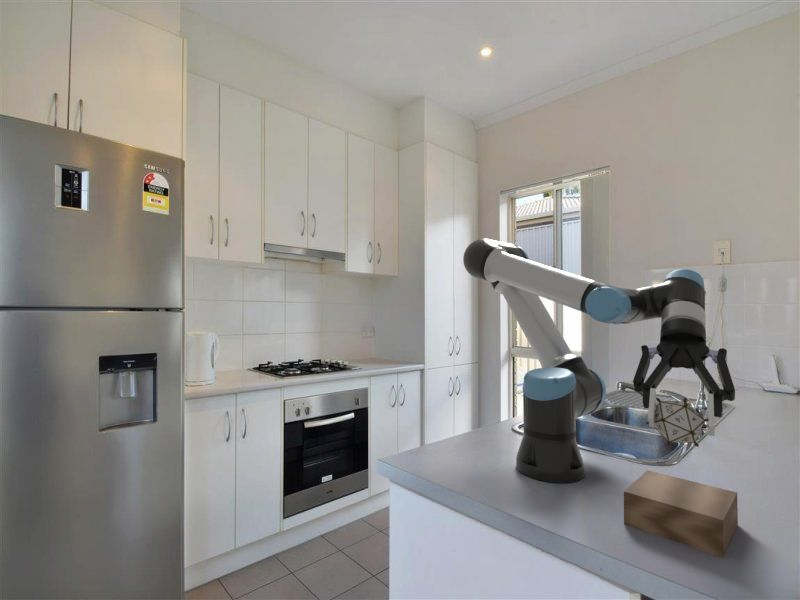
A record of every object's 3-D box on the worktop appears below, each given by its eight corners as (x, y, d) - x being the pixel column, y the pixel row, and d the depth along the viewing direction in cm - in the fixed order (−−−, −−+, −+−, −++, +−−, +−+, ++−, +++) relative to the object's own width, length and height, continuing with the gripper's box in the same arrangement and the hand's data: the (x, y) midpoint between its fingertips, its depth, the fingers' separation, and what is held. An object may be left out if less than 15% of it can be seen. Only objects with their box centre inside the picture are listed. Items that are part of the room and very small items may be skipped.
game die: (689, 469, 71) (712, 433, 65) (636, 443, 75) (653, 407, 69) (698, 434, 76) (720, 397, 70) (648, 412, 81) (664, 376, 75)
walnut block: (624, 525, 72) (623, 491, 72) (647, 500, 82) (647, 470, 82) (724, 560, 62) (723, 520, 62) (737, 527, 72) (737, 492, 72)
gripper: (748, 343, 79) (759, 450, 66) (627, 339, 91) (615, 428, 78) (750, 316, 75) (762, 424, 61) (623, 315, 87) (609, 405, 74)
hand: (680, 426), depth 70 cm, fingers closed on game die, 8 cm apart
